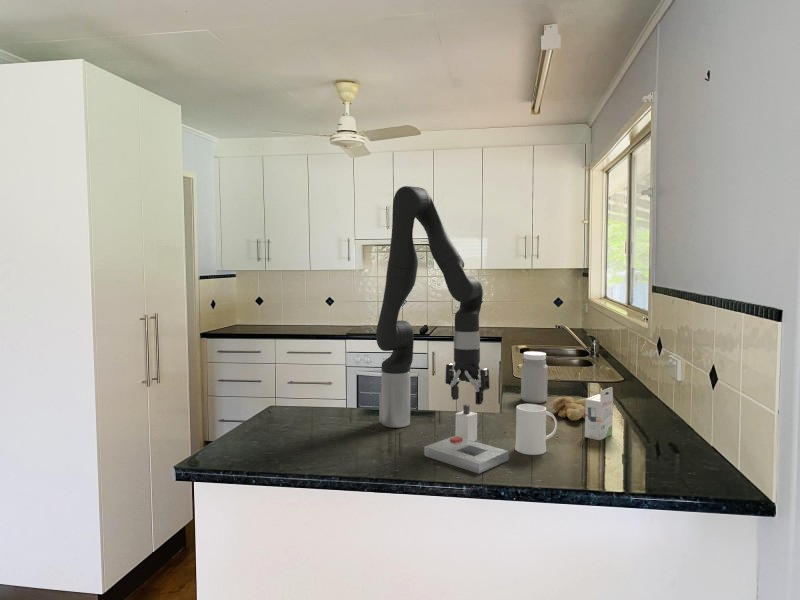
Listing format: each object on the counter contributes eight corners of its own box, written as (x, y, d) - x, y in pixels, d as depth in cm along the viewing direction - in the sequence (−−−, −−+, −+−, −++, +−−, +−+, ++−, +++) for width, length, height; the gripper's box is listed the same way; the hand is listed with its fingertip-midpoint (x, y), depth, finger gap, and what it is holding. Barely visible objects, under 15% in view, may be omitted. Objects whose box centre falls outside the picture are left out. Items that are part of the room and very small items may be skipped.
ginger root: (566, 403, 199) (570, 383, 196) (603, 424, 186) (608, 403, 184) (535, 411, 190) (539, 390, 188) (571, 434, 178) (576, 411, 175)
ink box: (597, 431, 171) (598, 383, 170) (612, 434, 167) (614, 386, 166) (583, 437, 165) (584, 388, 164) (599, 441, 161) (600, 391, 160)
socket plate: (424, 455, 149) (424, 444, 149) (454, 444, 158) (454, 433, 158) (479, 473, 136) (479, 461, 136) (508, 460, 146) (508, 448, 145)
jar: (552, 401, 207) (553, 353, 206) (534, 405, 202) (535, 356, 200) (532, 396, 215) (533, 350, 214) (515, 399, 210) (515, 352, 208)
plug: (455, 440, 162) (455, 405, 161) (464, 436, 165) (465, 402, 164) (467, 443, 159) (468, 408, 158) (477, 440, 162) (477, 405, 161)
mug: (552, 444, 158) (553, 403, 158) (562, 454, 150) (563, 411, 149) (511, 444, 158) (512, 403, 157) (519, 455, 149) (519, 411, 149)
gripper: (439, 345, 162) (439, 400, 163) (479, 350, 152) (479, 408, 153) (455, 342, 168) (455, 395, 169) (494, 347, 158) (494, 403, 159)
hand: (466, 401), depth 161 cm, fingers open, 8 cm apart
